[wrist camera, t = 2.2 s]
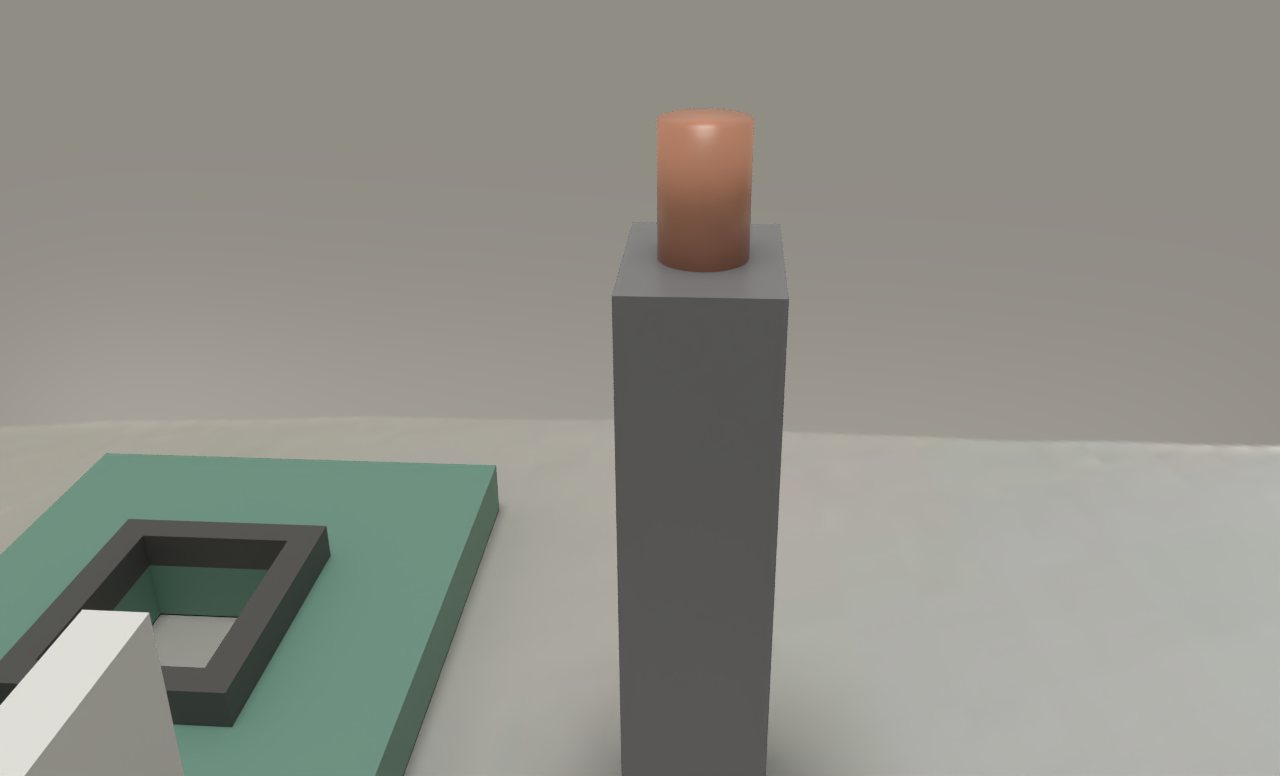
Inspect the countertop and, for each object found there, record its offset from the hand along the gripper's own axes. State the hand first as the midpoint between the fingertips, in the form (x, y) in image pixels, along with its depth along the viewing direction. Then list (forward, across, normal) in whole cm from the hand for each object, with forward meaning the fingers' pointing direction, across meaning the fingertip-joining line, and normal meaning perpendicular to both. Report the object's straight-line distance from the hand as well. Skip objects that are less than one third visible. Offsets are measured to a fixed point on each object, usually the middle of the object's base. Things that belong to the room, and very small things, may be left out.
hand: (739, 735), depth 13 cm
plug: (+14, 0, -15) cm, 21 cm away
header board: (+19, -17, -15) cm, 29 cm away
